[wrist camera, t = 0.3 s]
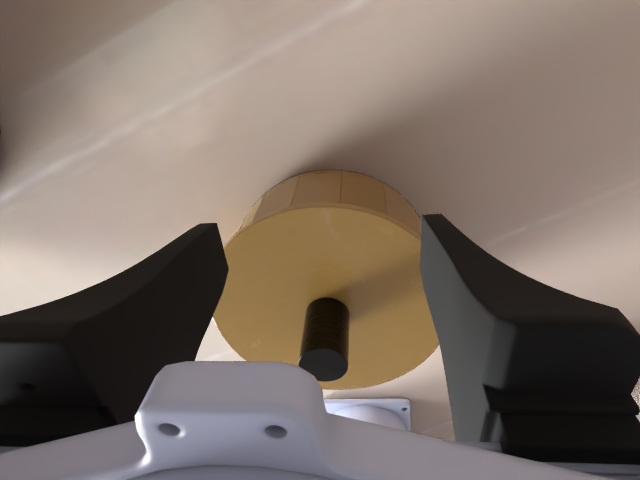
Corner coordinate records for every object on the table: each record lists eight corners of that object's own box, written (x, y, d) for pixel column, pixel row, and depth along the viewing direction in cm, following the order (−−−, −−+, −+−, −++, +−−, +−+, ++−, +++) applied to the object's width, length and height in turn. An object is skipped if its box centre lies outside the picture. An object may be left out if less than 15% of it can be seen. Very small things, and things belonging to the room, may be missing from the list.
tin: (425, 320, 29) (437, 377, 25) (261, 326, 31) (246, 380, 26) (429, 160, 22) (446, 201, 18) (220, 178, 24) (191, 220, 20)
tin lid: (443, 374, 26) (459, 445, 22) (243, 377, 27) (224, 444, 23) (455, 184, 18) (482, 240, 14) (183, 206, 20) (142, 260, 16)
